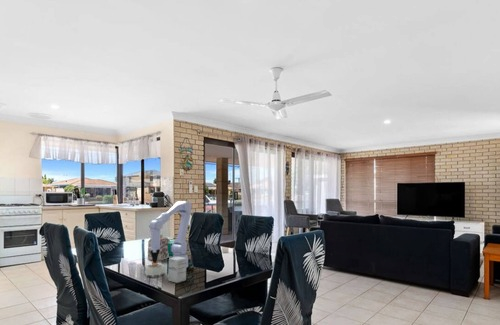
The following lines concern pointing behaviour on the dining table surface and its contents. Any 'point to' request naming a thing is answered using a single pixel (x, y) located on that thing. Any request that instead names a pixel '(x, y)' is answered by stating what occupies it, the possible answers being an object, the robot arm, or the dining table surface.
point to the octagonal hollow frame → (154, 270)
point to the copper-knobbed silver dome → (155, 264)
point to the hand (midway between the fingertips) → (154, 262)
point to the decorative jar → (163, 249)
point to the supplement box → (177, 269)
